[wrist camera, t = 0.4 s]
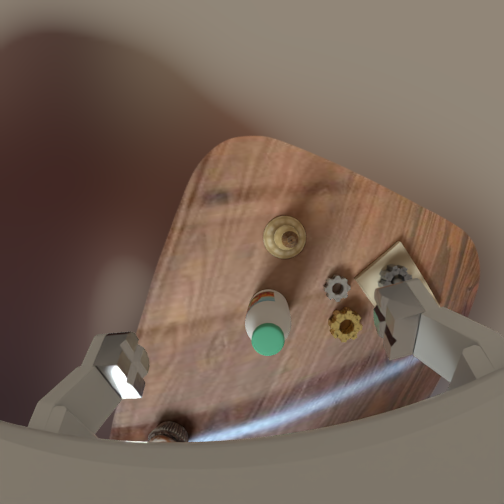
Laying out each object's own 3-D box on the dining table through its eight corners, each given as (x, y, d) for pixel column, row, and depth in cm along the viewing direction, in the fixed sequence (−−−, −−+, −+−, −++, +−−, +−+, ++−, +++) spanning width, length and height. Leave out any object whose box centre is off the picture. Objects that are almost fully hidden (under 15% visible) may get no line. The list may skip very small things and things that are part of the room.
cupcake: (200, 438, 65) (191, 463, 55) (173, 453, 66) (162, 477, 56) (172, 412, 65) (159, 435, 55) (146, 428, 66) (132, 450, 56)
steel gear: (411, 273, 59) (417, 275, 55) (396, 300, 59) (402, 304, 56) (387, 258, 59) (393, 259, 56) (372, 286, 59) (377, 289, 56)
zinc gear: (352, 285, 61) (355, 287, 59) (335, 304, 61) (338, 306, 59) (335, 269, 61) (337, 270, 59) (318, 288, 61) (319, 290, 59)
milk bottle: (288, 289, 62) (297, 315, 42) (287, 326, 62) (294, 367, 42) (249, 288, 62) (240, 313, 42) (248, 325, 63) (239, 365, 43)
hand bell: (312, 225, 61) (327, 223, 45) (296, 265, 61) (305, 276, 46) (272, 209, 61) (273, 201, 45) (256, 249, 62) (252, 254, 46)
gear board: (437, 306, 60) (449, 312, 55) (397, 341, 61) (407, 350, 56) (397, 241, 60) (408, 242, 54) (353, 278, 61) (361, 282, 55)
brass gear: (363, 323, 61) (368, 328, 58) (339, 343, 62) (342, 348, 59) (347, 300, 61) (350, 304, 58) (321, 320, 62) (324, 324, 59)
